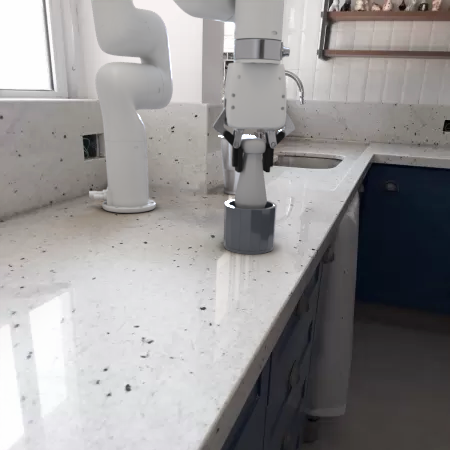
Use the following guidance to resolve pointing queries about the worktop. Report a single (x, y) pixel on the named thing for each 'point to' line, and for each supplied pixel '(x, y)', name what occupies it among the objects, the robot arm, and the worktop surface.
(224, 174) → the glass
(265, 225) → the grey mortar cup
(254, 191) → the salt shaker
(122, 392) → the worktop surface
